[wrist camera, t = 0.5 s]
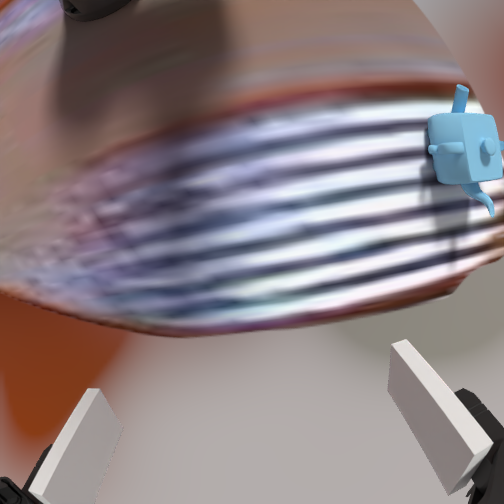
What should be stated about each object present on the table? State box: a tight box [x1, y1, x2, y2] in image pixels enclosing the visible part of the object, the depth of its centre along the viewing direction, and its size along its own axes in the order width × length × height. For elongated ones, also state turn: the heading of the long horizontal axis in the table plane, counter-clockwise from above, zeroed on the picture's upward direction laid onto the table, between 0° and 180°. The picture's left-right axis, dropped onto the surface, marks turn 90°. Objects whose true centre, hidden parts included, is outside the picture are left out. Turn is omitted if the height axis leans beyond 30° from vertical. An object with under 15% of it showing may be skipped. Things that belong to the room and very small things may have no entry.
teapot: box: [427, 85, 504, 218], centre depth 30 cm, size 18×14×10 cm
